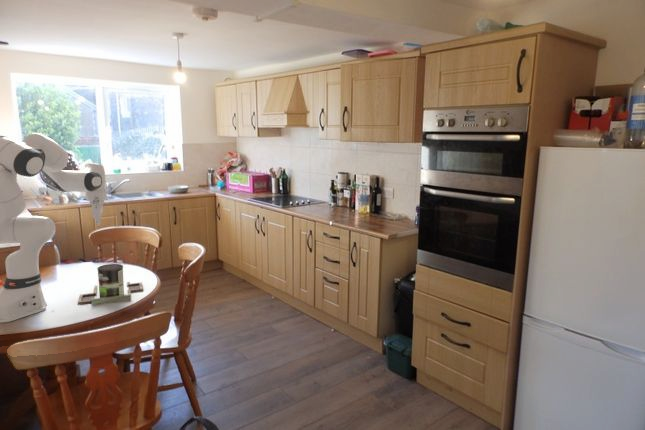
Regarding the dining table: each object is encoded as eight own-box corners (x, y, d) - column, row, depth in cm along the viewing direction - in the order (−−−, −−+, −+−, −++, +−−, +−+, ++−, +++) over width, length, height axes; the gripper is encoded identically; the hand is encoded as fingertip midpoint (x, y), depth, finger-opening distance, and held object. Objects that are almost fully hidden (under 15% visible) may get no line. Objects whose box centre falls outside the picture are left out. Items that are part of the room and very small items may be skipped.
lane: (144, 298, 192) (143, 293, 192) (77, 307, 181) (77, 301, 181) (141, 282, 214) (141, 277, 214) (81, 289, 203) (81, 284, 202)
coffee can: (109, 302, 187) (107, 271, 185) (94, 298, 192) (92, 268, 189) (129, 295, 196) (128, 265, 194) (114, 291, 201) (113, 262, 198)
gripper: (103, 198, 200) (105, 227, 202) (104, 193, 218) (106, 220, 220) (87, 199, 197) (89, 228, 199) (90, 194, 215) (92, 221, 217)
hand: (98, 224), depth 210 cm, fingers closed
